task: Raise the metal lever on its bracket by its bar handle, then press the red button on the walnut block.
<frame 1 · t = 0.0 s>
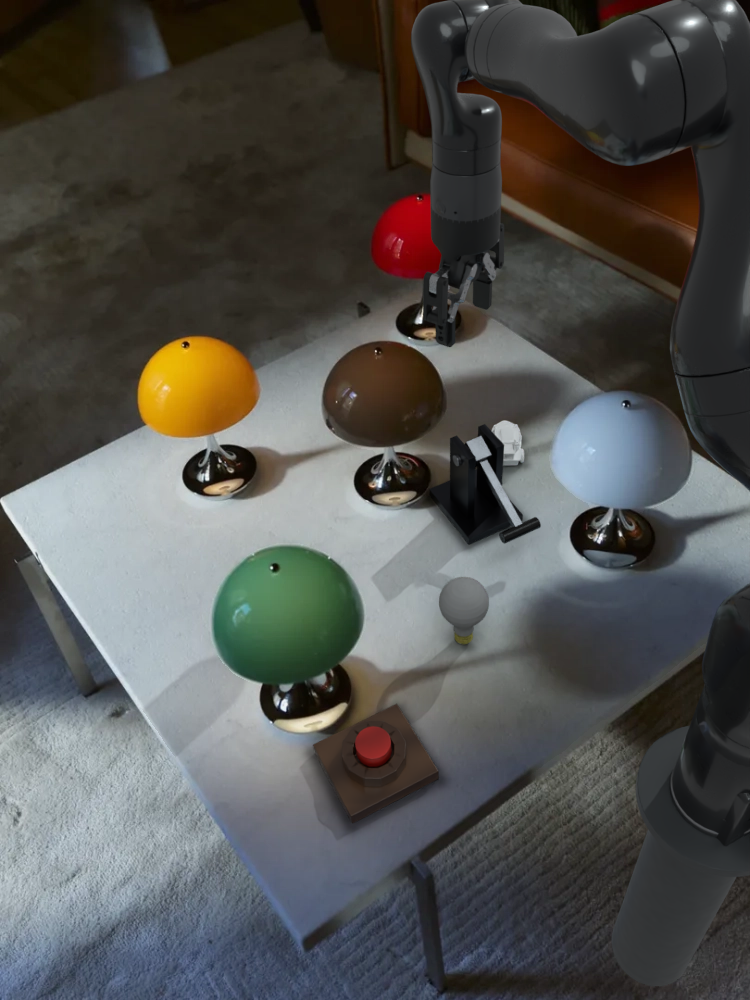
hand: (464, 324, 112), 23 cm above the table, tool pointing down, fingers open, 8 cm apart
button block: (375, 765, 98), on the table
button: (373, 746, 96), point 4 cm above the table, slide at 0.1 cm
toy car: (504, 452, 130), on the table
lever: (496, 488, 114), point 8 cm above the table, hinge at -25.0°
light bulb: (463, 641, 109), on the table
bracket: (475, 507, 123), on the table
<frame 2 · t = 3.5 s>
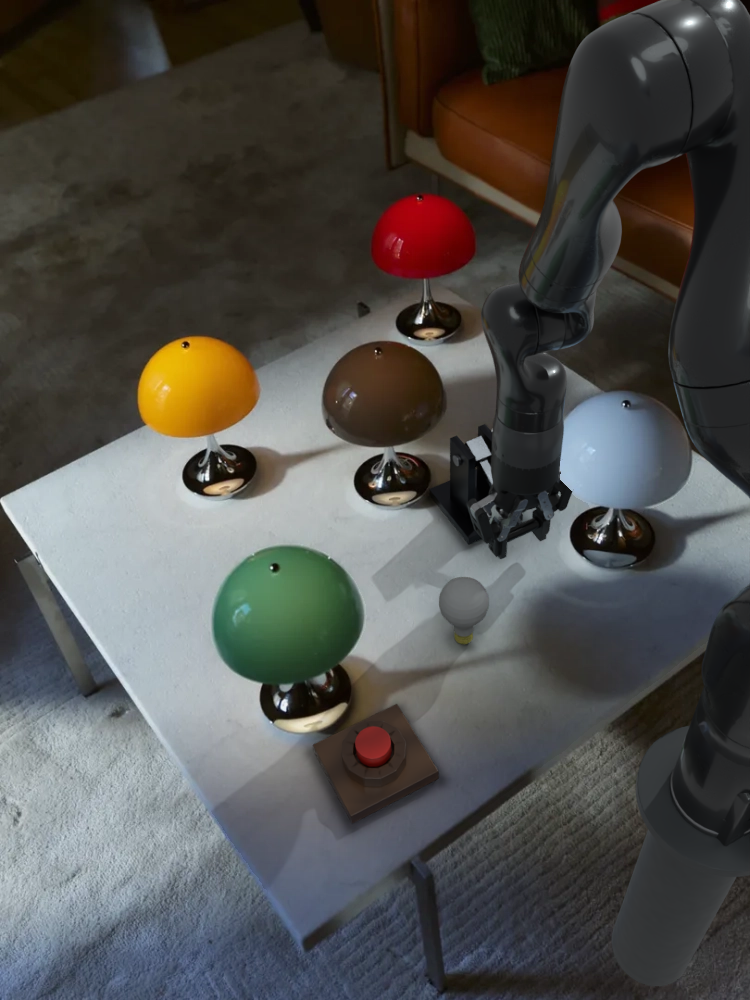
hand: (518, 544, 114), 3 cm above the table, tool pointing down, fingers closed on lever, 5 cm apart
lever: (496, 488, 114), point 8 cm above the table, hinge at -25.1°, touching gripper
everything else where it was.
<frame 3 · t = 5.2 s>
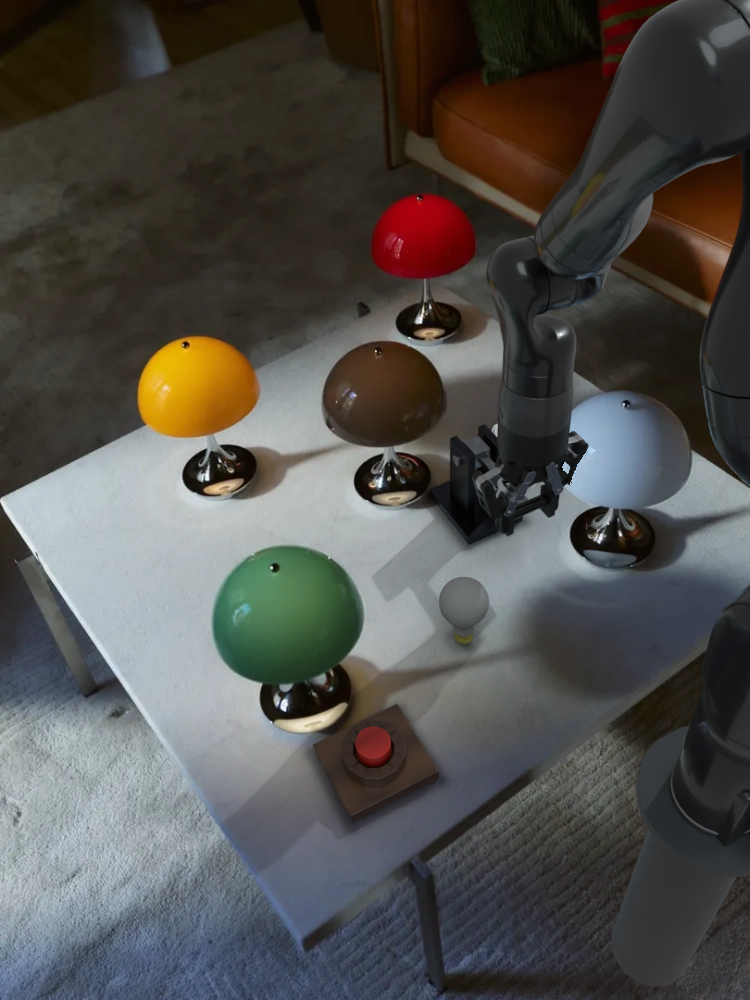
hand: (526, 520, 110), 8 cm above the table, tool pointing down, fingers closed on lever, 5 cm apart
lever: (499, 477, 112), point 10 cm above the table, hinge at 1.9°, touching gripper
everything else where it was.
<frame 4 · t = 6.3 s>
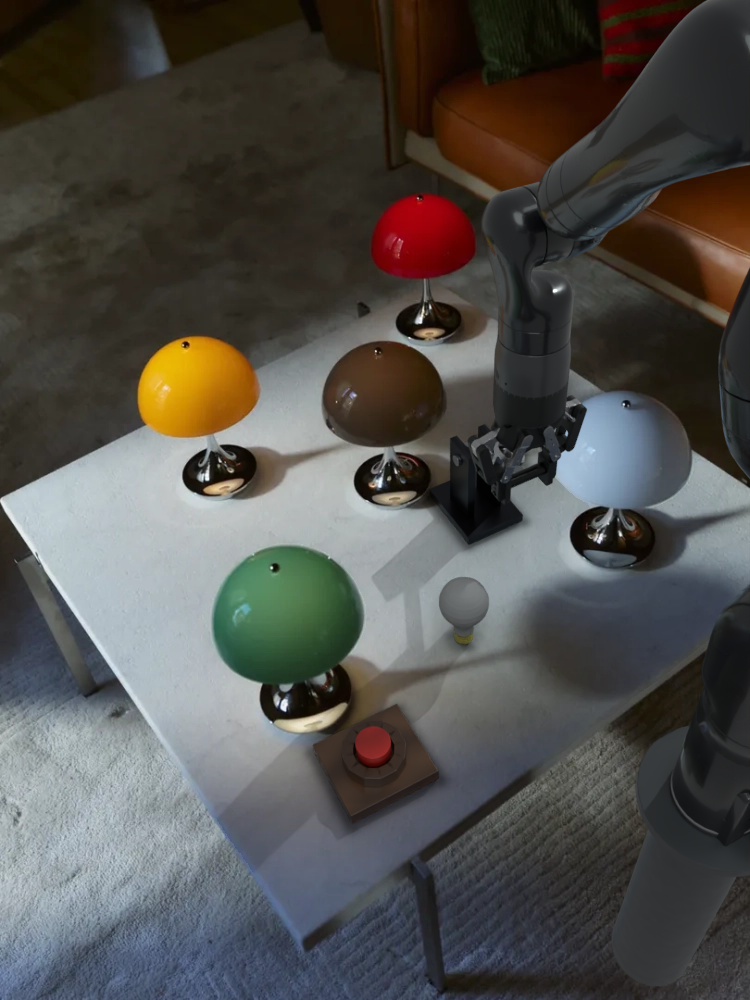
hand: (523, 489, 107), 12 cm above the table, tool pointing down, fingers closed on lever, 5 cm apart
lever: (498, 462, 111), point 12 cm above the table, hinge at 24.6°, touching gripper
everything else where it was.
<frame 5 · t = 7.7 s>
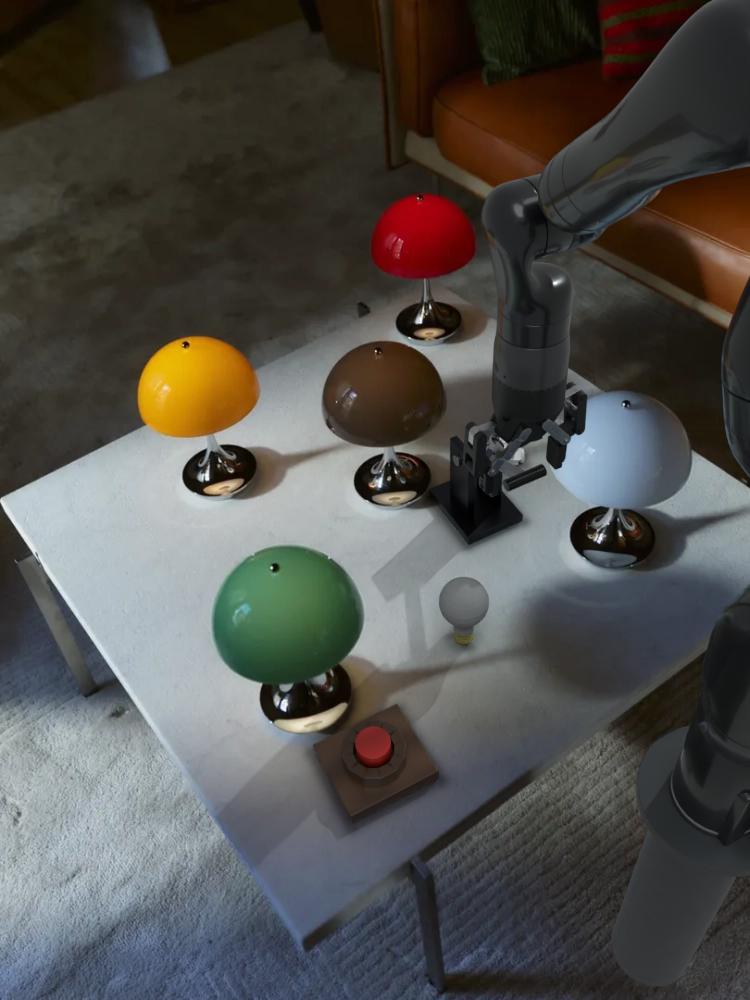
hand: (522, 477, 107), 14 cm above the table, tool pointing down, fingers open, 8 cm apart
lever: (498, 463, 111), point 12 cm above the table, hinge at 23.3°
everything else where it was.
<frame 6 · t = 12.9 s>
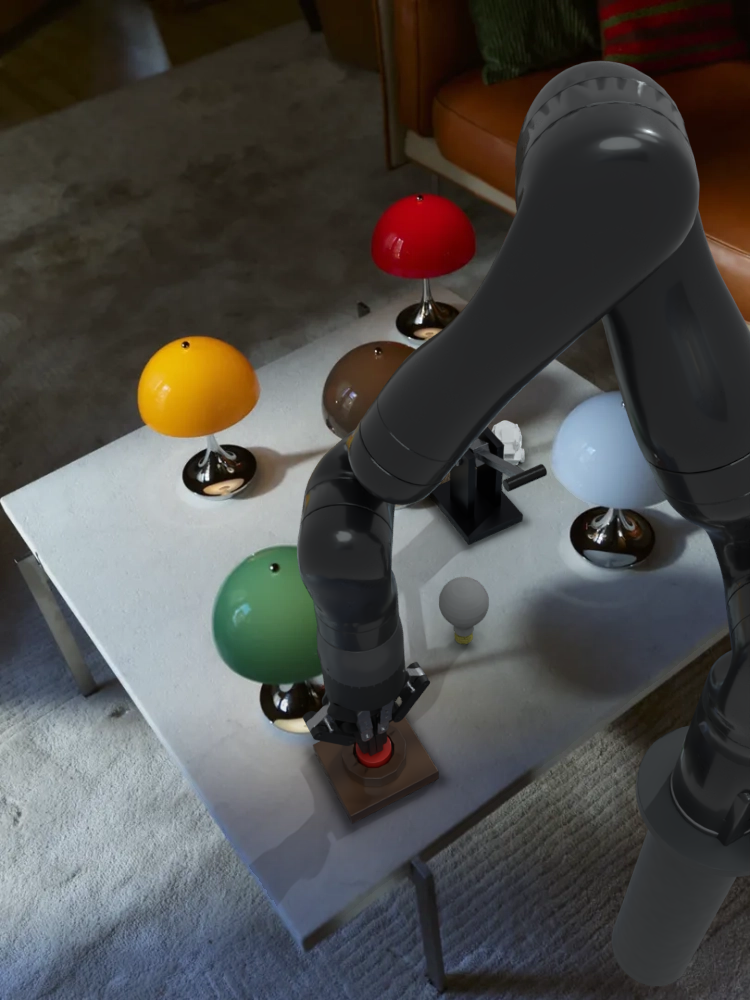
hand: (372, 746, 96), 4 cm above the table, tool pointing down, fingers closed
button: (373, 750, 96), point 3 cm above the table, slide at -0.7 cm, touching gripper
everything else where it was.
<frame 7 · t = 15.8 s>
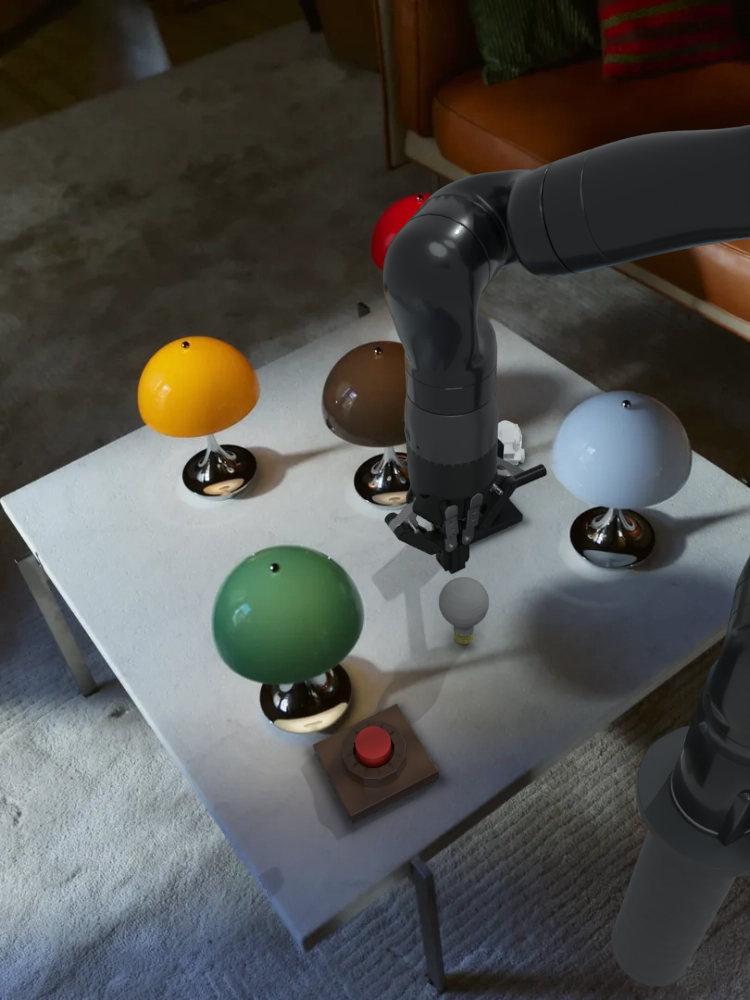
hand: (453, 565, 89), 21 cm above the table, tool pointing down, fingers closed
button: (373, 746, 96), point 4 cm above the table, slide at 0.1 cm
everything else where it was.
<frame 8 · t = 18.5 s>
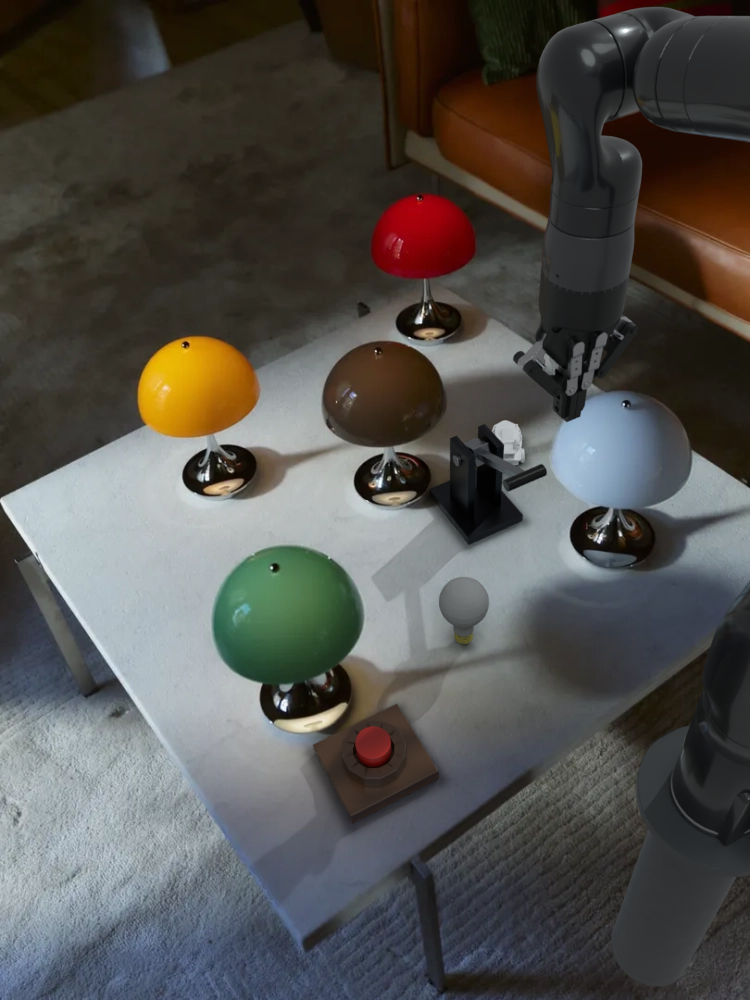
hand: (567, 414, 94), 27 cm above the table, tool pointing down, fingers closed
nothing on the table moved.
at the end: lever at +23° (first picture: -25°); button pushed in 1.1 cm at the most during the clip, back to where it started at the end; button slide at 0.1 cm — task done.
